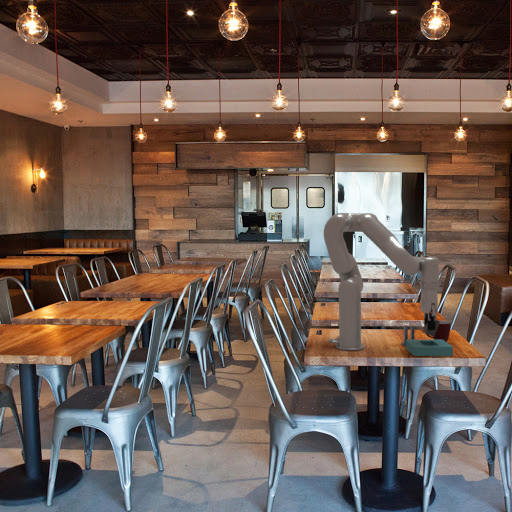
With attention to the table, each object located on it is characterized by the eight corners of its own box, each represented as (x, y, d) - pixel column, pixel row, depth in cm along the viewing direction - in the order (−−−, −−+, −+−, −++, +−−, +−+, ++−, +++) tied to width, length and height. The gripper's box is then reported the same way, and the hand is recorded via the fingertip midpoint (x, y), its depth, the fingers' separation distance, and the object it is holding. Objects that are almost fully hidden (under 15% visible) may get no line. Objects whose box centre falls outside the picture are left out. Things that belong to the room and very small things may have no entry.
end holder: (414, 356, 241) (414, 347, 240) (405, 348, 255) (405, 339, 254) (452, 356, 241) (453, 346, 240) (442, 348, 255) (442, 339, 254)
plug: (425, 333, 245) (433, 312, 244) (422, 331, 249) (430, 311, 248) (434, 336, 245) (442, 316, 244) (431, 334, 249) (439, 314, 248)
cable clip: (403, 346, 259) (403, 326, 258) (401, 344, 263) (401, 325, 262) (416, 346, 259) (417, 326, 258) (414, 344, 263) (414, 324, 262)
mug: (426, 345, 261) (426, 323, 260) (425, 341, 269) (425, 320, 268) (451, 346, 259) (451, 324, 258) (449, 342, 266) (449, 320, 266)
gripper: (415, 283, 254) (415, 325, 255) (426, 288, 237) (426, 333, 239) (432, 283, 254) (432, 324, 255) (444, 288, 237) (444, 332, 238)
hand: (429, 328), depth 247 cm, fingers closed on plug, 4 cm apart
